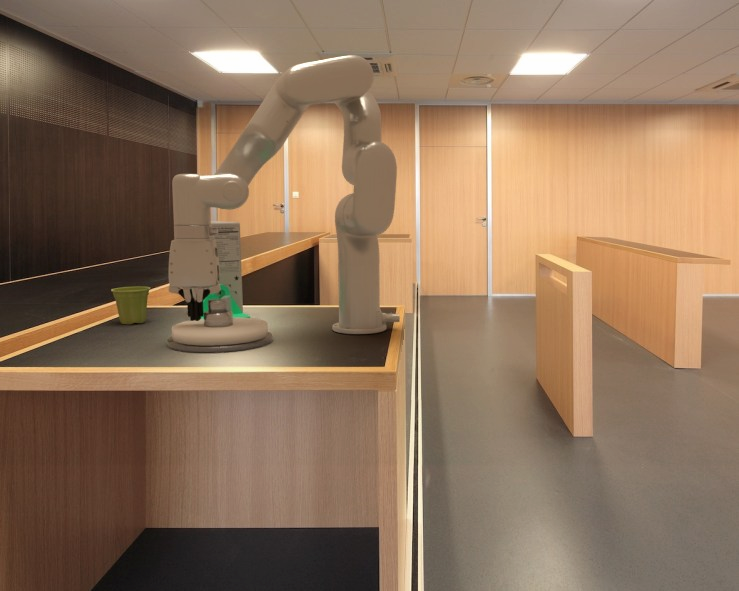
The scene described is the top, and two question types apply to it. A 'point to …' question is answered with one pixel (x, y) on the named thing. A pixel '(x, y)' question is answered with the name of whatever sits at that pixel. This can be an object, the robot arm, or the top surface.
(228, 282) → the cereal box
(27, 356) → the top surface
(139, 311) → the plant pot
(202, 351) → the turntable base
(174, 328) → the turntable
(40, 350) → the top surface
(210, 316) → the cover
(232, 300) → the camera mount
